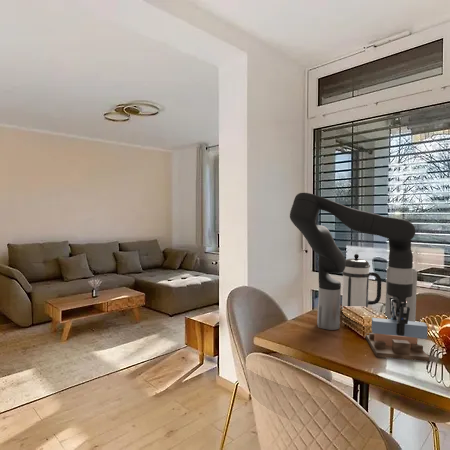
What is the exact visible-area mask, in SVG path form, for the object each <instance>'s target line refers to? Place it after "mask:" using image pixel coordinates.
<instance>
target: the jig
mask: <svg viewBox="0 0 450 450" xmlns="http://www.w3.org/2000/svg"><path fill="white" fill-rule="evenodd" d="M368 334H369V335H366V337H365V339H366V341H367V342H368V345H369V347H370V348H371V350H372V351H373V353H374V355H375V357H377V358H387V359H398V360H407V361H408V360H409V361H420V362H430V356H429V354H427V353H426V352H425V350H424V345H423V344H418V343H417V344H411V348H410V343H409V342H408V341H406V340H394V339H392V346H387V345H386V343H385V342H383V341H374V333H372V332H369V333H368Z"/></svg>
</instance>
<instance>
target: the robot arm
mask: <svg viewBox="0 0 450 450" xmlns="http://www.w3.org/2000/svg"><path fill="white" fill-rule="evenodd" d="M319 211H324V212H327V213H329V214H331V215H333V216H335V218H337V219H338V220H339V221H340V222H341V223H342V224H343V225H345V226H346V227H347V228H349V229H350V230H353V231H355V232H359V233H363V234H367V235H371V236H379V237H381V238H386V239H388V247H389V253H388V254H389V255H388V266H387V267H388V273H387V272H386V277H387V294H388V295H390V296H393V297H390V298H389V299H390V314H391V315H392V318H393V320H397V321H396V322H397V330H396V334H397V335H400V336H404V331H405V324H408V318H409V311H410V308H409V307H407V302H406V298H407V297H411V296H412V292H413V270H412V269H413V265H414V264H413V262H414V259H413V257H414V256H413V251H412V239H413V238H414V237H415V236H416V227H415V225H414V224H413V223H412V222H411V221H409V220H405V219H401V218H395V217H390V216H389V217H388V216H383V215H381V214H378V213H373V212H368V211H365V210H360V209H356V208H352V207H349V206H346V205H343V204H341V203H338V202H336V201H333V200H331V199H327V198H325V197H322V196H320V195H317V194H313V193H309V192H299V193H297V194H296V195H295V197H294V200H293V203H292V205H291V209H290V211H289V219H290V221H291V222H292V224H293V225H294V226H295V227H296V228H297V229H298V230H299V231H300V233H301V234H302V235H303V237H304V238H305V240H306V242H307V243H308V245H309V246H310V248H311V249H312V251H314V252H315V253H316V254H317V255H318V260H317V261H318V268H317V269H318V299H317V300H318V301H317V321H316V323H317V328H318V329H319V328H320V329H323V330H331V331H333V330H334V331H335V330H339V329H340V325H341V319H340V318H341V310H340V309H341V294H342V293H341V292H342V290H341V289H342V286H341V285H342V284H341V282H340V281H339V280H337V279H335V278H333V277H332V276H331V275H330V273H331V274H341V273H343V271H344V269H345V266H346V261H345V260H346V258H345V255H344V254H343V252H342V250H341V249H340V248H339V247H338V245H337V244H336V241H335V240H334V237H333V235H332V234H331V232H330V230H329V229H328V228H327V226H324V225H319V224H317V217H318V214H319ZM402 318H403V320H401V319H402Z"/></svg>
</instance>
